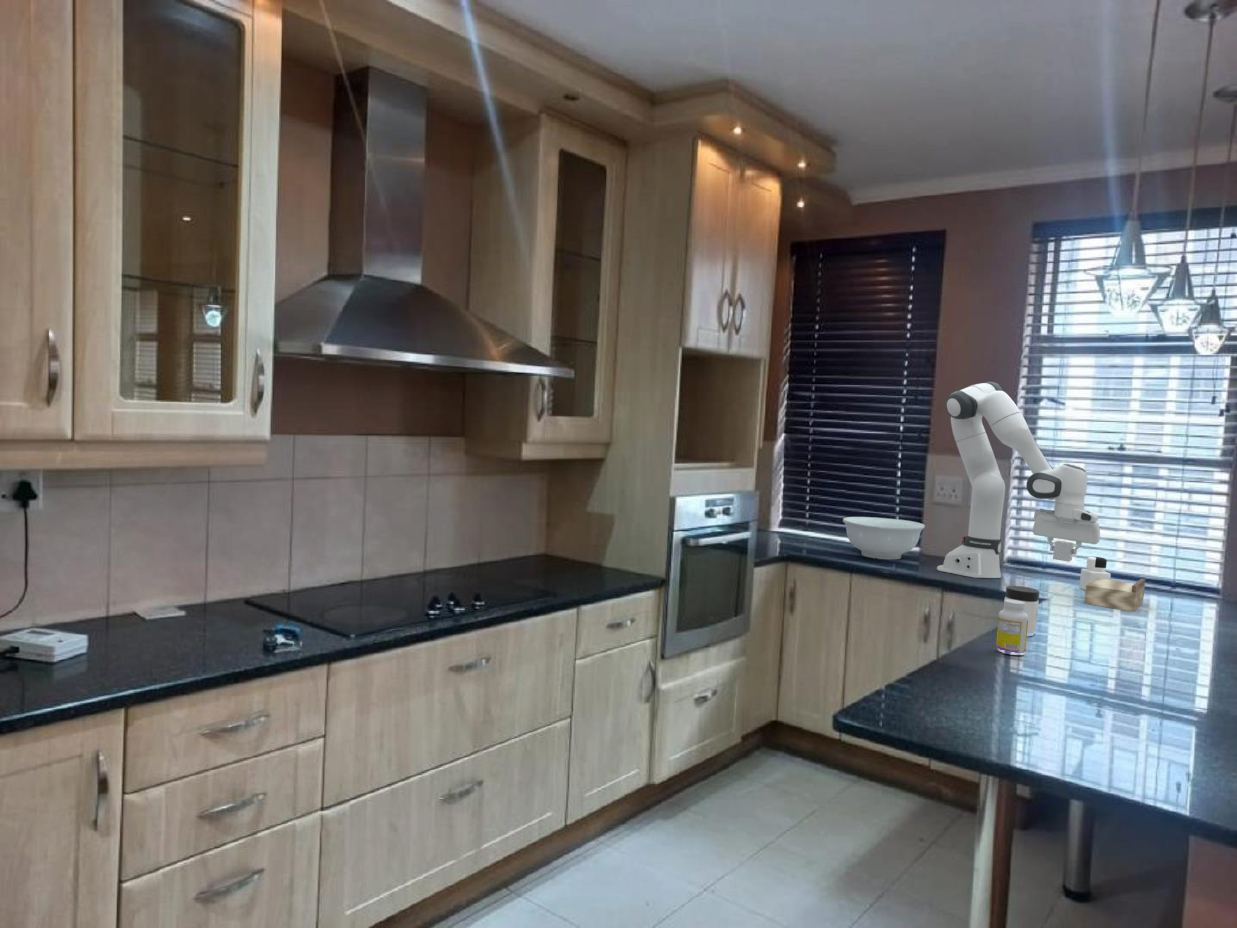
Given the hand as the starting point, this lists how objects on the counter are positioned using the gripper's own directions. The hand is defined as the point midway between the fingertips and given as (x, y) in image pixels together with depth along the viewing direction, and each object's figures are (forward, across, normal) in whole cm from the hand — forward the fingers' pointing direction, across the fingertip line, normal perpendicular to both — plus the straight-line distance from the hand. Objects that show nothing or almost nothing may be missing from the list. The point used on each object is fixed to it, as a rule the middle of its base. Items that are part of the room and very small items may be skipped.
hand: (1063, 552), depth 291 cm
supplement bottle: (+15, +8, -98) cm, 100 cm away
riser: (+14, +17, 0) cm, 22 cm away
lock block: (+2, 0, 0) cm, 2 cm away
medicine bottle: (+14, +8, +19) cm, 25 cm away
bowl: (+17, -70, +21) cm, 75 cm away
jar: (+15, +4, -73) cm, 75 cm away
